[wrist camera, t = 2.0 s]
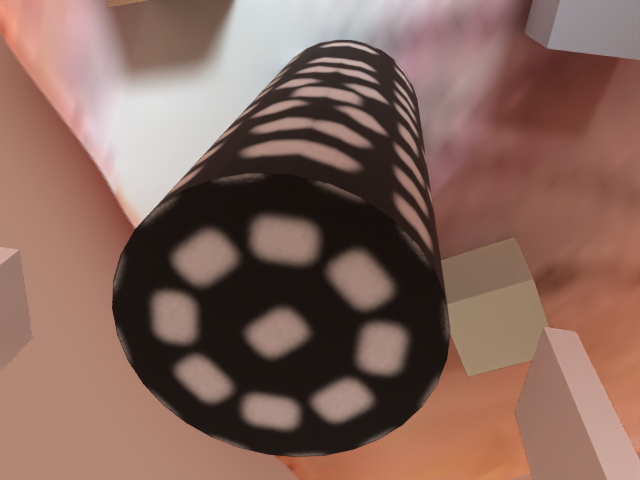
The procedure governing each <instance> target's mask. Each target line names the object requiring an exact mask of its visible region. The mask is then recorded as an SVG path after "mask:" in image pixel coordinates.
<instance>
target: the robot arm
mask: <svg viewBox="0 0 640 480" xmlns="http://www.w3.org/2000/svg"><path fill="white" fill-rule="evenodd" d="M31 339H32V331H31V324H30V318H29V311H28V304H27V297H26V291H25V285H24V277H23V271H22V264H21V257H20V250H18V249H10V248H4V247H0V373H1V372H2V371H3V370H4V368H5V367H6V366H7V365H8V364H9V363H10V362H11V361H12V360H13V359H14V358H15V356H17V354H18V353H19V352H20V351H21V350H22V349H23V348H24V347H25V346H26V345H27V344H28V342H30V340H31ZM515 416H516V420H517V424H518V427H519V431H520V435H521V438H522V442H523V446H524V449H525V453H526V457H527V460H528V464H529V468H530V471H531V475H532V478H533V480H640V460H639V458H638V456H637V454H636V452H635V450H634V448H633V446H632V444H631V442H630V440H629V438H628V436H627V434H626V432H625V430H624V428H623V426H622V424H621V422H620V420H619V418H618V416H617V414H616V412H615V410H614V408H613V406H612V404H611V402H610V400H609V398H608V396H607V393H606V391H605V389H604V387H603V385H602V383H601V381H600V379H599V377H598V375H597V373H596V371H595V369H594V367H593V365H592V363H591V361H590V359H589V357H588V355H587V353H586V351H585V349H584V347H583V345H582V343H581V341H580V339H579V337H578V335H577V333H576V331H569V330H563V329H556V328H549V327H543V330H542V333H541V336H540V339H539V342H538V345H537V348H536V351H535V354H534V357H533V360H532V363H531V366H530V369H529V371H528V374H527V377H526V380H525V383H524V386H523V389H522V392H521V395H520V398H519V401H518V404H517V407H516V410H515Z"/></svg>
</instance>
